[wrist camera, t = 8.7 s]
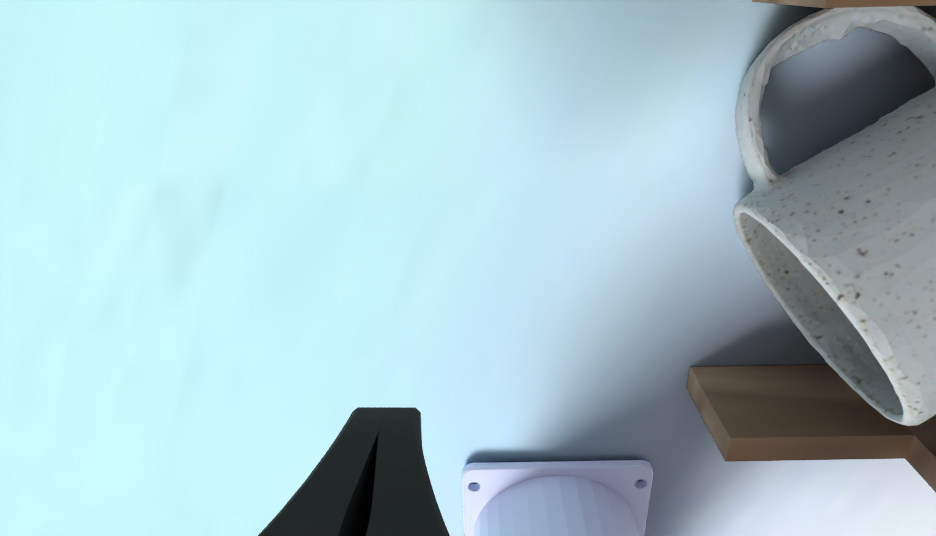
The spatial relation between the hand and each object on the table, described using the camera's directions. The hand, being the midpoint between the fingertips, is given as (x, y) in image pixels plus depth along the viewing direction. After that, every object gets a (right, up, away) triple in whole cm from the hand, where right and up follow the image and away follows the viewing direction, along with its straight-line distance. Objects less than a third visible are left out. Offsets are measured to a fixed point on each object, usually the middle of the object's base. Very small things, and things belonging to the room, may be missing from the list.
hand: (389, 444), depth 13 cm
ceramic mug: (+14, +7, +7) cm, 17 cm away
